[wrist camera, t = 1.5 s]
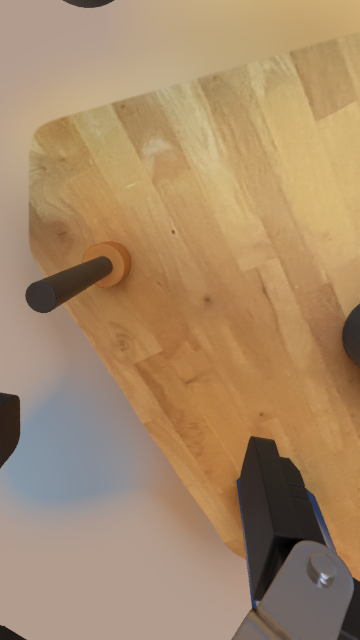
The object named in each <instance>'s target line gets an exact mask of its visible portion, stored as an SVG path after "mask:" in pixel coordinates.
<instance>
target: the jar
mask: <svg viewBox="0 0 360 640" xmlns="http://www.w3.org/2000/svg"><path fill="white" fill-rule="evenodd" d="M343 344H344V348H345V350H346V352H347V354H348V355H349V357H350V358H351V359H352V360H353V361H354V362H355V363H356V364H357V365H358V366H359V367H360V304H359V305H358V306H357V307H356V308H355V309H354V310H353V311H352V312H351V314H350V315H349V317H348V318H347V320H346V322H345V325H344V329H343Z"/></svg>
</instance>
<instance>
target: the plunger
mask: <svg viewBox="0 0 360 640" xmlns="http://www.w3.org/2000/svg"><path fill="white" fill-rule="evenodd" d="M130 268H131V258H130V255H129V253H128V251H127V250H126V249H125V248H124V247H123V246H122V245H121V244H119V243H116V242H110V241H109V242H104V243H100V244H97V245H94V246H92V247H90V248H89V249H88V250H87V251H86V252H85V254H84V256H83V259H82V264H80V265H77V266H75V267H72V268H70V269H67V270H65V271H62V272H60V273H57V274H55V275H52V276H50V277H47V278H45V279H42V280H40V281H37V282H35V283H32V284H31V285H30V286H29V287H28V289H27V290H26V301H27V303H28V305H29V306H30V307H31V308H32V309H33V310H35V311H37V312H40V313H47V312H50V311H51V310H53V309H55V308H56V307H58V306H60V305H61V304H63V303H64V302H66V301H68V300H69V299H71V298H72V297H74V296H76V295H77V294H79V293H80V292H82V291H83V290H85V289H87V288H88V287H90V286H91V285H93V284H94V285H96V286H99V287H111V286H114V285H115V284H117V283H118V282H119V281H121V280H122V279H123V278H125V277H126V276H127V274H128V273H129V271H130Z"/></svg>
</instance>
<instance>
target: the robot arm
mask: <svg viewBox="0 0 360 640" xmlns="http://www.w3.org/2000/svg"><path fill="white" fill-rule="evenodd" d="M19 437H20V400H19V397H18V396H17V395H11V394H6V393H0V468H1V467H2V465H3V464H4V463H5V462H6V461H7V459H8V458H9V457H10V456H11V454H12V453H13V452H14V450H15V448H16V446H17V444H18V441H19ZM240 499H241V507H242V515H243V523H244V531H245V539H246V547H247V555H248V563H249V571H250V579H251V587H252V595H253V600H255V601H261V602H260V603H259V605H258V606H257V608H256V609H255V608H254V607H253V608H252V609H251V610H250V611H249V613H248V614H247V616H246V617H245V619H244V620H243V622H242V623H241V625H240V627H239V628H238V630H237V632H236V633H235V635H234V636H233V638H232V640H360V582H359V581H358V580H356V579H355V578H353V577H352V575H351V573H350V571H349V569H348V567H347V566H346V564H345V563H344V562H343V560H342V559H341V558H340V557H339V556H338V555H337V554H336V553H335V552H334V551H332V550H331V549H329V548H328V547H327V545H326V542H325V539H324V536H323V534H322V531H321V528H320V526H319V523H318V520H317V517H316V515H315V512H314V509H313V506H312V504H311V501H310V500H309V496H308V493H307V490H306V488H305V485H304V482H303V479H302V477H301V474H300V471H299V470H298V469H297V468H296V466H295V465H294V464H293V463H292V462H291V460H290V459H289V458H283V457H280V456H279V453H278V450H277V446H276V443H275V441H274V440H271V439H266V438H260V437H254V436H251V437H250V440H249V443H248V447H247V451H246V455H245V459H244V462H243V466H242V470H241V475H240ZM0 640H26V639H24V638H23V637H21V636H19V635H18V634H16V633H15V632H13V631H11V630H10V629H8V628H6V627H5V626H1V625H0Z"/></svg>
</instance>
